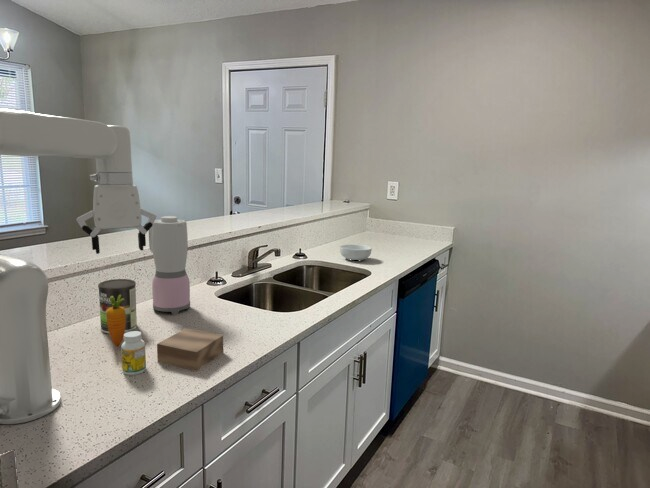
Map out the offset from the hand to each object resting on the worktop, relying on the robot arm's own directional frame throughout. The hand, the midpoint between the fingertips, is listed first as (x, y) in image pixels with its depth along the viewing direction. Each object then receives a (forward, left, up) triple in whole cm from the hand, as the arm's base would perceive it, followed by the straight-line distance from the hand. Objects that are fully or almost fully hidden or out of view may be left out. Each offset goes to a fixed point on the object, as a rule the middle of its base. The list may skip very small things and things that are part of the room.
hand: (119, 250), depth 109 cm
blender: (+39, +18, -30) cm, 52 cm away
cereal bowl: (+145, -18, -30) cm, 149 cm away
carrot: (+7, +10, -30) cm, 32 cm away
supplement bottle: (-2, -4, -30) cm, 30 cm away
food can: (+18, +20, -30) cm, 40 cm away
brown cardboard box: (+10, -12, -29) cm, 34 cm away
